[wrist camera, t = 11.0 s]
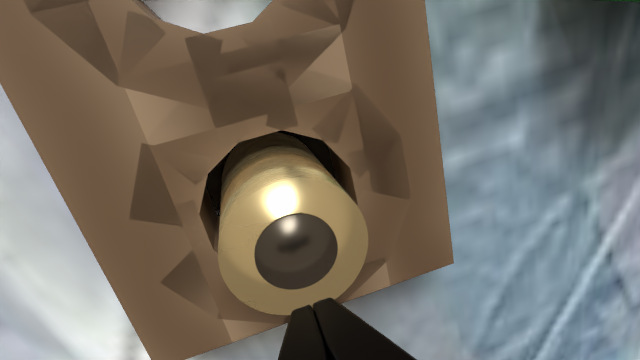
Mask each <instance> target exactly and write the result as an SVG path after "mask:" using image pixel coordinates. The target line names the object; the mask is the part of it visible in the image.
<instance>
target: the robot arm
mask: <svg viewBox="0 0 640 360" xmlns="http://www.w3.org/2000/svg"><path fill="white" fill-rule="evenodd" d="M278 360H417V359H415V358H414V357H413V356H411V355H410V354H408V353H407V352H406V351H404V350H403V349H402V348H400V347H399V346H397V345H396V344H395V343H393V342H392V341H391V340H389V339H388V338H387V337H385V336H384V335H382V334H381V333H380V332H378V331H377V330H376V329H374V328H373V327H371V326H370V325H369V324H367V323H366V322H365V321H363V320H362V319H361V318H359V317H358V316H356V315H355V314H354V313H352V312H351V311H350V310H348V309H347V308H345V307H344V306H343V305H341V304H340V303H339V302H337V301H336V300H334V299H333V298H326V299H323V300H320V301H318V302H315V303H314V304H313V308H312V306H311V305H306V306H304V307H301V308H298V309H295V310H293V311H292V312H291V315H290V319H289V322H288V326H287V329H286V333H285V336H284V340H283V343H282V347H281V350H280V354H279V357H278Z"/></svg>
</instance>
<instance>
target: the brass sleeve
mask: <svg viewBox="0 0 640 360" xmlns="http://www.w3.org/2000/svg"><path fill="white" fill-rule="evenodd" d="M367 250H368V231H367V226H366V222H365V219H364V217H363V215H362V213H361V211H360V209H359V208H358V206H357V205H356V204H355V202H354V201H353V200H352V199H351V198H350V197H349V195H348V194H347V193H346V192H345V191H344V190H343V188H342V187H341V186H340V185H339V184H338V182H337V181H336V180H335V179H334V178H333V177H332V175H331V174H330V173H329V172H328V171H327V170H326V168H325V167H324V166H323V165H322V164H321V162H320V161H319V160H318V159H317V158H316V157H315V155H314V154H313V153H312V152H311V151H310V150H309V148H308V147H307V146H306V145H305V144H304V143H302V142H301V141H300V140H298V139H297V138H295V137H293V136H290V135H287V134H284V133H279V132H273V133H270V134H266V135H263V136H259V137H256V138H252V139H249V140H245V141H243V142H241V143H240V144H239V145H238V146H236V147H235V149H234V150H233V151H232V152H231V153H230V155H229V157H228V158H227V160H226V163H225V165H224V169H223V174H222V189H221V206H220V224H219V241H218V262H219V268H220V272H221V275H222V277H223V279H224V281H225V283H226V285H227V287H228V288H229V289H230V291H231V292H232V293H233V294H234V295H235V296H236V297H237V298H238V299H239V300H240V301H242V302H243V303H244V304H246V305H248V306H250V307H251V308H254V309H256V310H258V311H261V312H265V313H268V314H275V315H291V312H292V311H293V310H295V309H298V308H301V307H304V306H306V305H311V306H312V308H313V304H314V303H315V302H318V301H320V300H323V299H326V298H333V299H334V300H335V299H336V298H338V297H339V296H340V295H341V294H342V293H343V292H345V291H346V290H347V289H348V288H349V286H350V285H351V284H352V283H353V282H354V280H355V279H356V278H357V276H358V274H359V272H360V271H361V269H362V266H363V264H364V262H365V258H366V255H367Z"/></svg>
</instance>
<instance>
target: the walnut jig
mask: <svg viewBox="0 0 640 360" xmlns="http://www.w3.org/2000/svg"><path fill="white" fill-rule="evenodd" d="M0 84H1V85H2V87H3V89H4V91H5V93H6V95H7V96H8V98H9V100H10V102H11V104H12V105H13V107H14V109H15V111H16V113H17V115H18V116H19V118H20V120H21V122H22V124H23V126H24V127H25V129H26V131H27V133H28V135H29V137H30V138H31V140H32V142H33V144H34V146H35V148H36V149H37V151H38V153H39V155H40V157H41V159H42V160H43V162H44V164H45V166H46V168H47V170H48V171H49V173H50V175H51V177H52V179H53V181H54V182H55V184H56V186H57V188H58V190H59V192H60V193H61V195H62V197H63V199H64V201H65V203H66V204H67V206H68V208H69V210H70V212H71V214H72V215H73V217H74V219H75V221H76V223H77V225H78V226H79V228H80V230H81V232H82V234H83V236H84V237H85V239H86V241H87V243H88V245H89V247H90V248H91V250H92V252H93V254H94V256H95V258H96V259H97V261H98V263H99V265H100V267H101V269H102V270H103V272H104V274H105V276H106V278H107V280H108V281H109V283H110V285H111V287H112V289H113V290H114V292H115V294H116V296H117V298H118V300H119V301H120V303H121V305H122V307H123V309H124V311H125V312H126V314H127V316H128V318H129V320H130V322H131V323H132V325H133V327H134V329H135V331H136V333H137V334H138V336H139V338H140V340H141V342H142V344H143V345H144V347H145V349H146V351H147V353H148V355H149V356H150V358H151V360H185V359H188V358H191V357H193V356H196V355H199V354H202V353H205V352H207V351H210V350H213V349H216V348H219V347H221V346H224V345H227V344H230V343H232V342H235V341H238V340H241V339H244V338H246V337H249V336H252V335H255V334H258V333H260V332H263V331H266V330H269V329H272V328H274V327H277V326H280V325H283V324H285V323H288V322H289V319H290V315H275V314H268V313H265V312H261V311H258V310H256V309H254V308H251V307H250V306H248V305H246V304H244V303H243V302H242V301H240V300H239V299H238V298H237V297H236V296H235V295H234V294H233V293H232V292H231V291H230V289H229V288H228V287H227V285H226V283H225V281H224V279H223V277H222V275H221V272H220V268H219V262H218V241H219V224H220V217H219V216H218V215H217V214H216V212H215V209H214V207H213V204H212V201H211V199H210V196H209V193H208V191H207V188H206V186H205V185H206V180H207V176H208V173H209V172H210V171H211V170H212V169H213V168H214V167H215V166H216V165H217V164H218V163H219V162H220V161H221V160H222V159H223V158H224V157H225V156H226V155H227V154H228V153H229V152H230V151H231V150H232V149H233V148H234V147H235V146H236V145H237V144H238V143H239V142H241V141H245V140H249V139H252V138H256V137H259V136H263V135H266V134H270V133H273V132H277V131H280V130H284V131H288V132H292V133H296V134H300V135H304V136H308V137H312V138H316V139H320V140H322V141H323V143H324V144H325V145H326V146H327V147H328V148H329V153H330V157H331V161H332V165H333V170H334V174H335V180H336V181H337V182H338V184H339V185H340V186H341V187H342V188H343V190H344V191H345V192H346V193H347V194H348V195H349V197H350V198H351V199H352V200H353V201H354V202H355V204H356V205H357V206H358V208H359V209H360V211H361V213H362V215H363V217H364V219H365V222H366V226H367V231H368V250H367V255H366V258H365V262H364V264H363V266H362V269H361V271H360V272H359V274H358V276H357V278H356V279H355V280H354V282H353V283H352V284H351V285H350V286H349V288H348V289H347V290H346V291H345V292H343V293H342V294H341V295H340V296H339V297H338V298H336V299H335V300H336V301H337V302H339V303H340V304H341V303H344V302H347V301H350V300H352V299H355V298H358V297H361V296H363V295H366V294H369V293H372V292H375V291H377V290H380V289H383V288H386V287H389V286H391V285H394V284H397V283H400V282H402V281H405V280H408V279H411V278H414V277H416V276H419V275H422V274H425V273H428V272H430V271H433V270H436V269H439V268H442V267H444V266H447V265H450V264H453V263H454V260H453V251H452V242H451V233H450V224H449V215H448V206H447V197H446V188H445V179H444V170H443V161H442V152H441V143H440V134H439V125H438V116H437V107H436V98H435V89H434V80H433V71H432V62H431V53H430V44H429V35H428V26H427V17H426V8H425V0H273V1H272V2H271V3H270V4H269V5H268V6H267V7H266V8H265V9H264V10H263V11H262V12H261V14H260V15H259V16H258V17H257V18H256V19H255V20H254V21H253V22H251V23H247V24H243V25H239V26H234V27H230V28H226V29H222V30H218V31H214V32H209V33H205V34H202V33H199V32H196V31H192V30H189V29H186V28H183V27H180V26H176V25H173V24H170V23H167V22H163V21H162V20H161V19H160V18H159V17H158V16H157V15H156V14H155V13H154V12H153V11H152V10H151V9H150V8H149V7H148V6H146V5H145V4H144V3H143V2H142V1H141V0H0Z"/></svg>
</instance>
